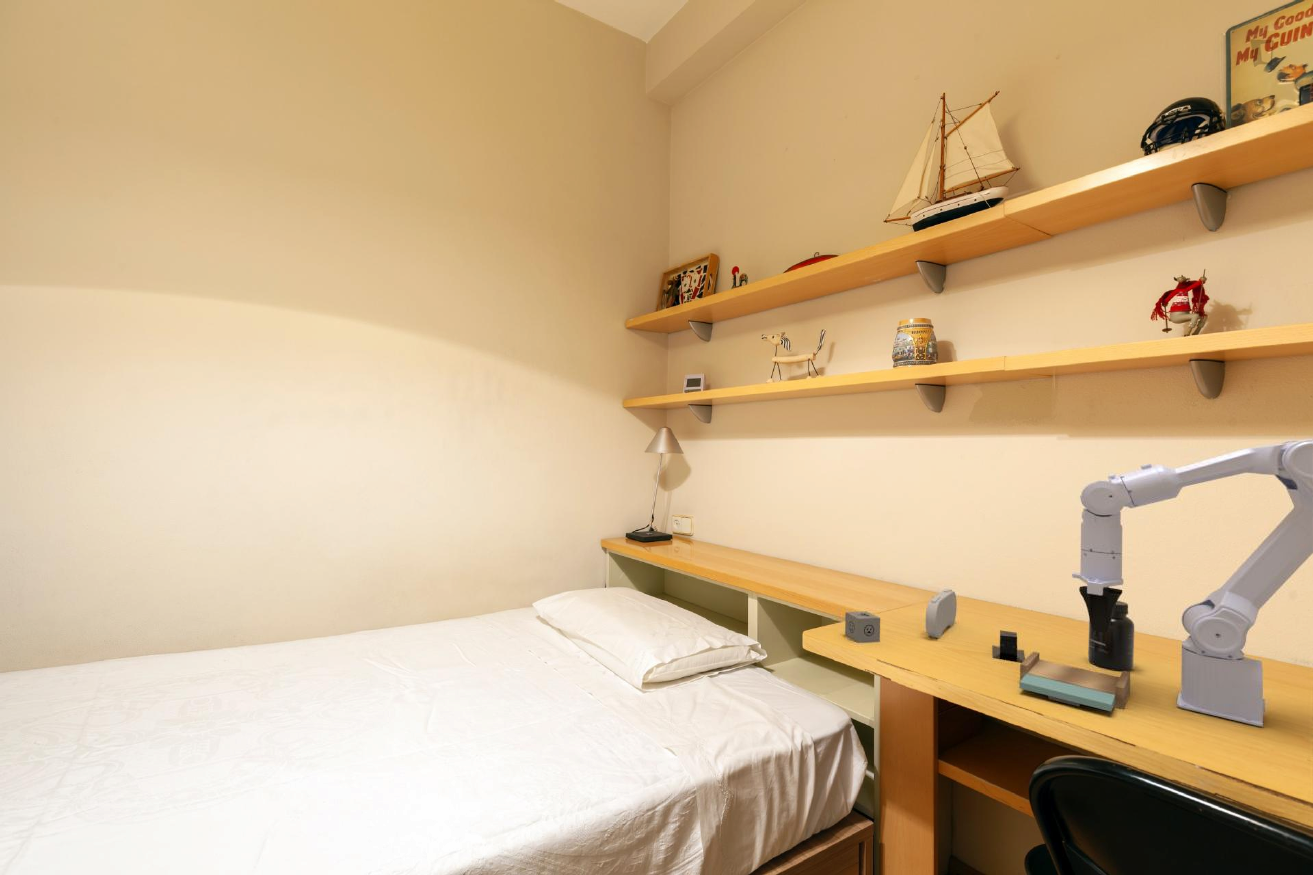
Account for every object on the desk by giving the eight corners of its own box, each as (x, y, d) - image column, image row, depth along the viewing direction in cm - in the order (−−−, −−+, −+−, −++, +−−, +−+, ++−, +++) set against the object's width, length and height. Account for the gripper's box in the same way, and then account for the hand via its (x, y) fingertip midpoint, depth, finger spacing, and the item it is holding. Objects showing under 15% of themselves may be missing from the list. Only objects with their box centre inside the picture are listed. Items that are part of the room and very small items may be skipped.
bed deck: (1130, 691, 100) (1130, 672, 100) (1123, 709, 93) (1123, 688, 93) (1032, 668, 109) (1033, 651, 109) (1019, 683, 102) (1020, 664, 102)
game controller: (945, 621, 141) (946, 585, 141) (956, 622, 140) (957, 587, 140) (923, 639, 126) (924, 600, 126) (935, 642, 124) (936, 602, 124)
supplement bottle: (1085, 664, 113) (1086, 600, 113) (1090, 656, 118) (1091, 595, 118) (1132, 674, 108) (1132, 608, 108) (1135, 665, 113) (1136, 601, 113)
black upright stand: (1030, 670, 110) (1031, 645, 111) (985, 662, 114) (986, 638, 114) (1027, 651, 121) (1028, 628, 121) (986, 644, 125) (987, 622, 125)
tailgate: (1115, 694, 93) (1111, 704, 89) (1115, 704, 93) (1111, 715, 89) (1026, 673, 101) (1019, 681, 98) (1026, 683, 101) (1019, 691, 98)
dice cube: (879, 642, 123) (880, 617, 123) (857, 643, 122) (858, 618, 122) (866, 634, 128) (866, 611, 128) (845, 635, 127) (845, 612, 127)
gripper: (1079, 544, 110) (1078, 617, 110) (1065, 552, 100) (1064, 633, 100) (1128, 549, 106) (1127, 626, 105) (1118, 558, 95) (1117, 644, 95)
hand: (1100, 630), depth 102 cm, fingers closed
